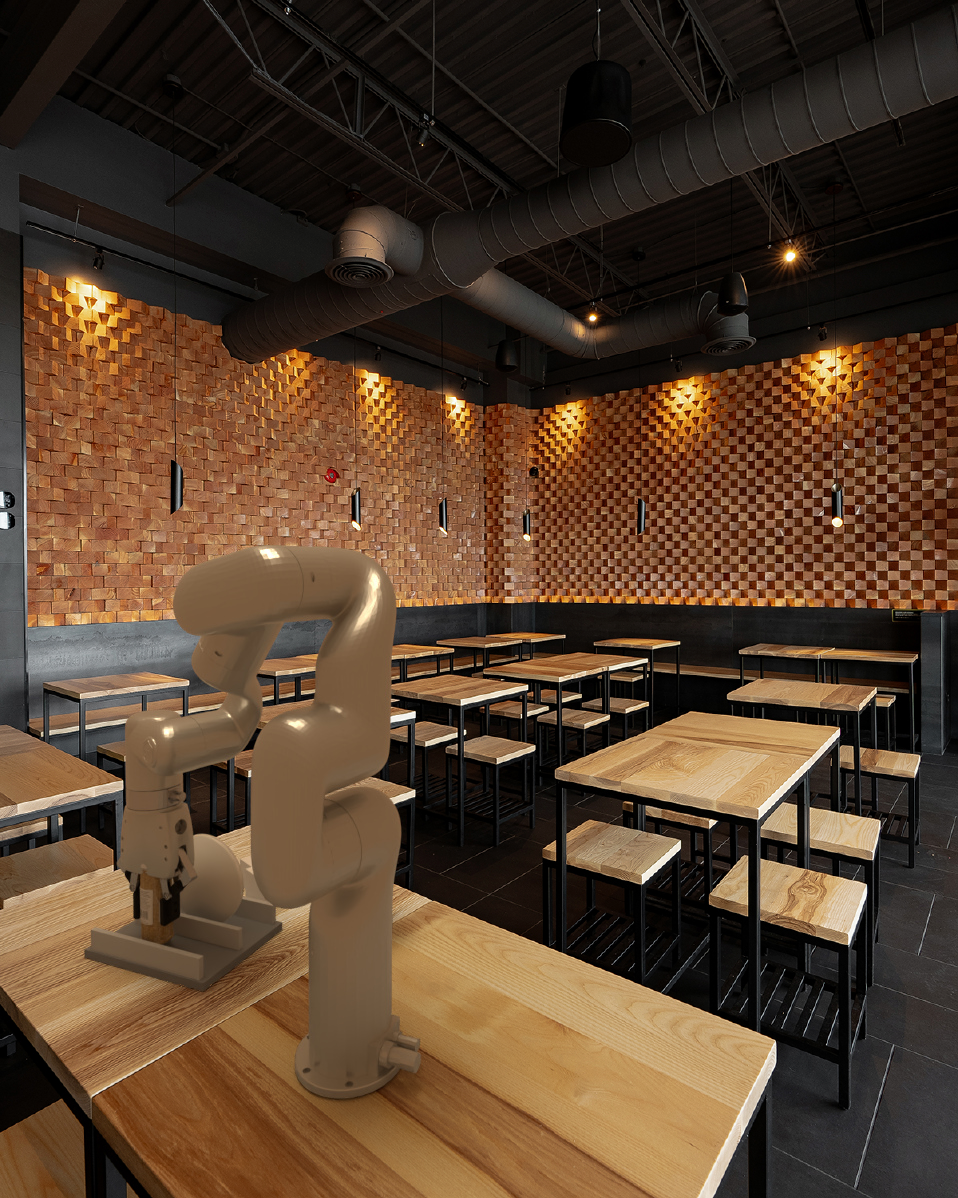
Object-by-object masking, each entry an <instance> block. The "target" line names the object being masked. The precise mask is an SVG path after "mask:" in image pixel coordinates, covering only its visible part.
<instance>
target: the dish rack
mask: <svg viewBox="0 0 958 1198" xmlns="http://www.w3.org/2000/svg"><path fill="white" fill-rule="evenodd" d="M193 839H194V856H195V860H194V866H193V868H194V870H195V872H196V873H197V878H196V879H195V880H193V881H192V882H190V883H189V884H188V885H187V886H186V887H185V888H184V890H183V891H182V892H180V917H179V918H177V919H176V920H174V921H173V931H174V935H173V937H172V938H171V940H169V941H167V942H166V943H164V944H157V943H153V942H150V941H146V940H142V939H141V918H139V919H134V920H133V921H131V922H128V923H127V924H125V925H124V926H122V927H120V928H119V929H117V930H115V931H111V930H108V929H104V928H100V927H96V926H95V927H93V928H91V929H90V946H88V947H86V948H84V949H83V950H84V951H83V953H84V954H83V955H84V958H85V959H89V960H92V961H94V962H95V961H96V962H98V963H102V964H106V965H109V966H113V967H116V968H120V969H123V970H125V971H129V972H132V973H136V974H140V975H143V976H147V977H151V978H153V979H158V980H161V981H164V982H167V981H168V983H170V982H172V983H171V984H173V985H174V984H175V985H177V984H181V985H184V986H186V987H185V988H188V989H191V988H194V989H197V990H196V991H198V990H200V991H199V992H201V991H204V990H205V991H207V990H208V989H209V988H210V987H211V986H210V985H211V984H213V983H214V982H216V981H217V980H218V981H220V980H221V979H222V978H223V977H224V976H226V975H227V974H228V973H230V972H231V971H232V970H233V969H235V968H236V967H237V966H238V965H240V964H241V963H242V962H243V961H244V960H246V959H248V957H250V956H251V955H252V954H253V953H255V952H256V951H257V950H259V949H260V948H261V947H263V946H264V945H265V944H267V942H269V941H270V940H271V939H273V938H274V937H276V935H278V933H280V932H282V931H283V922H282V921H277V915H276V914H277V910H276V909H277V907H276V906H274V905H272V904H271V903H270V902H267V901H263V900H258V899H254V898H249V897H246V895H244V892H245V889H244V880H243V874H242V870H241V867H240V861H239V860H238V858H237V856H236V855H235V853H234V852H233V851H232V849H231V847H229V846H228V845H227V843H225V842H224V841H223V840H221V839H220V838H218V837H216V836H214V835H212V834H207V833H197V834H193ZM181 875H182V874H181ZM173 884H174V881H173V878H172V885H173ZM222 976H223V977H222ZM221 977H222V978H221ZM220 978H221V979H220ZM218 981H217V982H218ZM217 982H216V983H217ZM214 984H215V983H214ZM214 984H213V985H214ZM181 985H180V986H181ZM184 986H183V987H184ZM209 986H210V987H209ZM208 987H209V988H208ZM207 988H208V989H207ZM194 989H193V990H194ZM206 989H207V990H206ZM205 991H204V992H205Z"/></svg>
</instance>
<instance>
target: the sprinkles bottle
mask: <svg viewBox="0 0 958 1198" xmlns="http://www.w3.org/2000/svg"><path fill="white" fill-rule="evenodd" d="M141 868H144V869H147V867H146V866H145V864H141ZM142 871H143V873H142V874H140V918H141V939H142V940H146V941H150V942H153V943H157V944H164V943H166V942H167V941H169V940H171V938H172V937H173V935H174V931H173V922H171V923H169V924H168V925H166V926H161V924H160V899H162V898H164V897H163V893H162V887H161V882H160V878H157V877H152V876H148V874H147V873H145V872H147V870H142ZM170 885H171V886H172V879H170Z"/></svg>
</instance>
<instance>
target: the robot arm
mask: <svg viewBox="0 0 958 1198" xmlns="http://www.w3.org/2000/svg"><path fill="white" fill-rule="evenodd" d="M176 585H177V586H176V587H175V590H174V593H173V594H174V595H173V599H172V600H173V601H172V607H173V610H172V611H173V615H174V618H175V620H176V623H177V624H178V625H179V627H180V628H181V629H182V630H183V631H185V633H187V634H189V635H193V636H197V637H199V639H198V642H197V644H196V646H195V648H194V650H193V652H192V655H191V661H190V664H191V667H192V669H193V671H194V673H195V674H196V676H197V677H198V678H199V680H200V681H202V682H203V683H205V684H206V685H208V686H210V687H211V688H214V689H216V690H217V691H221V692H223V693H226V696H225V698H224V700H223V702H222V704H221V705H220V707H219V708H217V709H216V710H212V711H204V712H200V713H195V714H191V715H186V716H181V714H180V713H178V712H177V711H175V710H170V709H150V710H149V709H148V710H142V711H139V712H135V713H133V714H131V715H130V716H128V718H127V719H126V722H125V726H124V735H125V736H124V740H125V741H124V744H125V746H124V747H125V802H126V805H125V806H124V810H123V814H122V821H121V829H120V830H121V833H120V856H119V858H118V860H117V861H116V867H118V868H119V870H120V871H121V872H122V873H123V874H124V877H125V879H126V880H127V882H128V883H129V886H128V889H129V891H130V892H132V912H133V913H132V915H133V917H132V918H133V919H134V920H135V919H139V918H140V874H142V873H143V871H142V870H147V872H145V873H147V874H148V876H152V877H157V878H160V882H161V887H162V893H163V897H164V898H162V899H160V924H161V926H166V925H168V924H169V923H171V922H173V921H174V920H176V919H177V918H179V917H180V892H182V891H183V890H184V888H185V887H186V886H187V885H188V884H189V883H190V882H192V881H193V880H195V879H196V878H197V873H196V872H195V870H194V868H193V866H194V860H195V856H194V839H193V835H194V830H193V825H192V824H193V823H192V818H191V814H190V809H189V806H188V803H185V802H184V801H185V800H186V798H187V794H186V792H184V775H183V774H184V773H187V772H192V771H195V770H197V769H200V768H201V769H202V768H204V767H207V766H211V765H215V764H219V763H223V762H226V761H229V760H231V759H233V758H235V757H237V756H239V754H240V753H241V752H243V750H244V749H246V746H248V744H249V742H250V740H251V739H252V737H253V735H254V733H255V732H256V730H257V728H258V726H259V724H260V721H261V719H262V717H263V716H262V715H263V702H264V701H263V692H262V687H261V684H260V682H259V680H258V678H257V676H258V674H259V672H260V670H261V668H262V666H263V665H264V662H265V661H266V659H267V656H268V655H269V653H270V651H271V649H272V647H273V645H274V643H275V641H276V639H277V637H278V635H279V634H280V631H282V628H283V626H284V624H285V623H295V622H307V621H309V622H310V621H317V620H328V621H331V624H332V625H331V627H330V628H329V629H328V631H327V633H326V635H325V637H324V639H323V641H322V643H321V646H320V648H319V650H318V652H317V657H316V661H315V670H314V671H315V687H314V697H313V701H312V703H311V704H310V705H307V706H304V707H303V706H302V707H300V708H295V709H291V710H287V711H285V712H282V713H280V714H278V715H275V716H274V717H273V718H271V719H270V720H269V721H268V722H267V723H266V724H265V725H264V726H263V727H262V728H261V730H260V731H259V734H258V736H257V738H256V741H255V743H254V746H253V751H252V754H251V764H250V765H251V766H250V767H251V768H250V770H251V771H250V856H251V861H252V869H253V874H254V878H255V881H256V883H257V886H258V888H259V890H260V892H261V893H262V895H263V896H264V898H265V899H266V900H267V901H268V902H270V903H271V904H272V905H274V906H276V908H279V909H283V910H284V909H286V910H294V909H297V908H299V909H300V908H302V907H304V906H305V907H306V905H309V904H310V906H309V912H308V1033H307V1034H305V1036H304V1037H303V1038H302V1039H301V1040H300V1041H299V1042H300V1043H299V1044H298V1046H297V1048H296V1051H295V1054H294V1071H295V1074H296V1077H297V1080H298V1081H299V1082H300V1084H301V1085H302V1086H303V1087H304V1088H305V1089H306V1090H308V1091H310V1092H311V1093H313V1094H315V1095H318V1096H321V1097H325V1098H329V1099H342V1100H343V1099H352V1098H356V1097H357V1096H358V1097H361V1096H365V1095H367V1094H370V1093H373V1092H375V1091H377V1090H378V1089H380V1088H382V1087H383V1086H385V1085H386V1084H387V1083H389V1082H390V1081H391V1080H393V1078H394V1077H395V1076H396V1075H397V1074H398V1073H399V1072H400V1070H402V1071H406V1072H409V1073H413V1074H417V1072H418V1071H419V1068H420V1066H421V1062H422V1054H421V1053H420V1052H418V1051H419V1050H420V1045H421V1039H420V1038H418V1037H414V1036H411V1035H405V1034H403V1031H402V1030H401V1027H400V1026H401V1017H400V1016H399V1015H397V1014H392V1013H393V1012H392V1010H393V1008H392V1005H393V1002H392V1000H393V998H392V997H393V983H392V982H393V906H394V905H393V900H394V897H393V896H394V882H395V876H396V869H397V864H398V860H399V859H398V858H399V854H400V849H401V841H402V825H401V817H400V814H399V811H398V808H397V806H396V805H395V804H394V802H393V800H392V799H391V798H390V797H389V796H388V795H387V794H386V793H385V792H383V791H381V790H379V789H377V788H374V787H370V786H355V787H350V786H352V785H355V784H357V783H360V782H363V781H365V780H366V779H369V778H371V777H372V776H375V775H376V774H377V773H379V772H380V771H381V770H382V769H383V768H384V767H385V765H386V764H387V762H388V758H389V754H390V749H391V748H390V747H391V746H390V745H391V726H392V725H391V724H392V723H391V721H392V719H391V716H392V715H391V713H392V712H391V711H392V659H393V658H392V656H393V645H394V638H395V637H394V636H395V629H396V623H397V597H396V593H395V589H394V585H393V583H392V580H391V579H390V576H389V575H388V574H387V572H386V570H385V569H384V567H382V565H381V564H380V563H378V562H377V561H376V560H375V559H373V558H372V557H371V556H368V555H367V554H365V553H362V552H360V551H356V550H353V549H348V548H342V547H333V546H331V547H330V546H317V545H316V546H311V545H309V546H304V545H301V546H299V545H281V544H279V545H278V544H277V545H276V544H275V545H274V544H262V545H256V546H249V547H247V548H243V549H239V550H237V551H234V552H231V553H228V554H225V555H222V556H219V557H214V558H212V559H210V560H209V559H208V560H207V561H203V562H201V563H198V564H196V565H194V566H193V567H191V568H189V570H187V571H185V573H184V575H183V576H182V577H181V578H180V580H179V581H178V583H177V584H176ZM347 787H350V788H347ZM344 788H346V789H344ZM342 789H343V790H342ZM337 791H338V792H337ZM333 792H335V793H333ZM328 794H329V795H328ZM141 864H145V866H146V867H147V869H144V868H141ZM181 874H182V875H181ZM172 878H173V881H174V884H173V885H172V886H171V885H170V879H172Z"/></svg>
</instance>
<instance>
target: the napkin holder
mask: <svg viewBox="0 0 958 1198" xmlns="http://www.w3.org/2000/svg"><path fill="white" fill-rule="evenodd" d="M239 864H240V867H241V870H242V874H243V880H244V890H245V897H249V898H254V899H258V900H263V901H267V900H266V899H265V898H264V896H263V895H262V893H261V892H260V890H259V888H258V886H257V883H256V881H255V878H254V874H253V869H252V861H251V855H249V856H245V857H240V859H239ZM267 902H268V901H267Z"/></svg>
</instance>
